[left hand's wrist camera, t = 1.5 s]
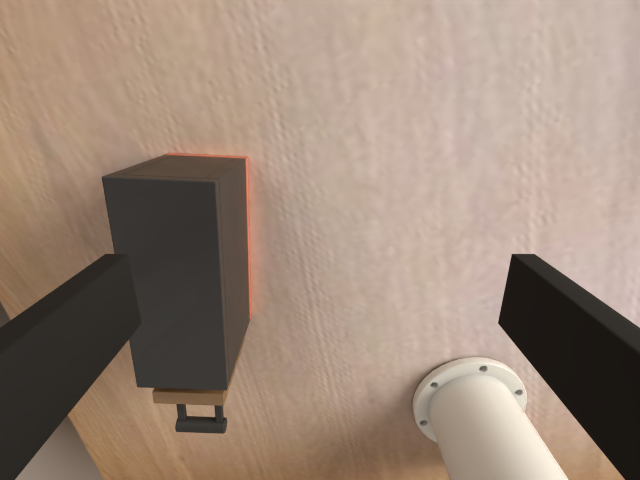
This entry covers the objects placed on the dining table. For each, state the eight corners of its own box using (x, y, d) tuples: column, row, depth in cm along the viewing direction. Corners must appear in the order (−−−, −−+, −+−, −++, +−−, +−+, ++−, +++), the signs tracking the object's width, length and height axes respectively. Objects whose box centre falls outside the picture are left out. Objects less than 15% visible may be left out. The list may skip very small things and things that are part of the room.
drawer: (246, 381, 40) (226, 453, 32) (193, 379, 40) (161, 451, 32) (240, 199, 33) (213, 232, 24) (175, 196, 33) (127, 228, 24)
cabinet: (251, 315, 38) (227, 390, 28) (184, 312, 38) (136, 387, 28) (247, 156, 32) (215, 181, 22) (168, 152, 32) (100, 176, 22)
